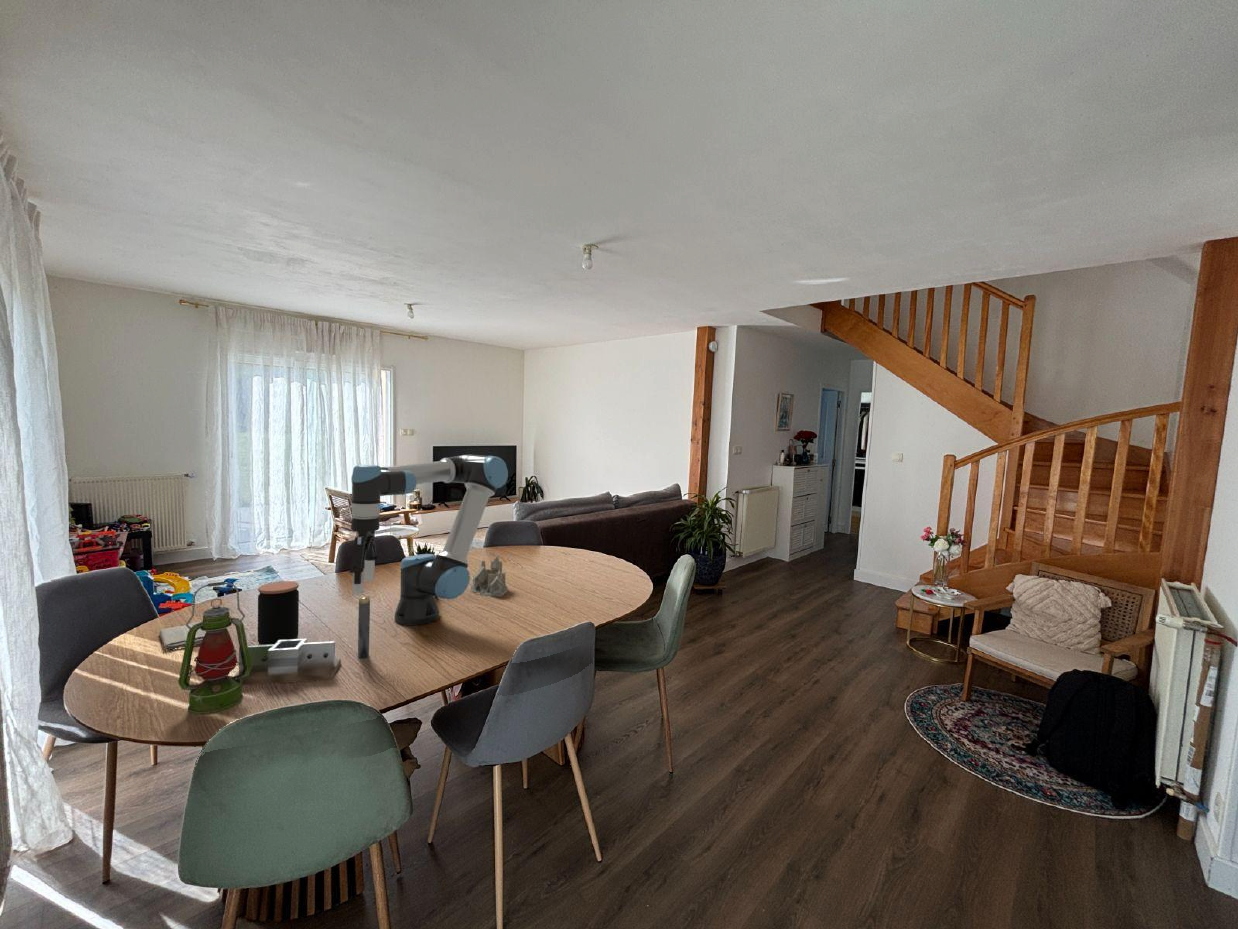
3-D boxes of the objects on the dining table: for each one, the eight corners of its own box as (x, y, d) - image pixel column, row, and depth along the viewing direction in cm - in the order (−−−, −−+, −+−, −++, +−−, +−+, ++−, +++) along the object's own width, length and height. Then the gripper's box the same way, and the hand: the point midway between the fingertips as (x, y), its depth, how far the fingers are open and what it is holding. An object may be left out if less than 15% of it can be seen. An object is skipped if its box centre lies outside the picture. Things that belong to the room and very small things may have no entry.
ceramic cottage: (472, 585, 225) (474, 553, 224) (509, 587, 227) (511, 555, 226) (465, 598, 210) (467, 564, 208) (505, 600, 212) (507, 566, 210)
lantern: (177, 723, 114) (176, 593, 112) (179, 702, 122) (179, 581, 120) (252, 704, 123) (253, 584, 121) (250, 686, 131) (250, 573, 129)
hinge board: (340, 664, 145) (340, 659, 145) (331, 679, 137) (331, 673, 137) (245, 670, 139) (245, 665, 139) (229, 686, 131) (229, 680, 131)
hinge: (337, 660, 144) (338, 637, 144) (330, 672, 137) (330, 647, 137) (245, 666, 138) (245, 641, 138) (233, 678, 132) (233, 652, 131)
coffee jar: (306, 638, 162) (306, 583, 161) (274, 651, 152) (274, 592, 151) (282, 633, 165) (282, 579, 164) (249, 645, 155) (249, 588, 154)
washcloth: (164, 654, 148) (164, 644, 148) (157, 636, 160) (157, 626, 160) (215, 643, 157) (215, 633, 156) (205, 627, 169) (205, 618, 168)
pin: (370, 654, 153) (371, 596, 152) (367, 658, 150) (368, 599, 149) (359, 654, 152) (360, 596, 151) (356, 658, 149) (357, 599, 148)
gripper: (362, 510, 160) (360, 576, 161) (339, 524, 136) (337, 601, 137) (387, 511, 162) (385, 576, 163) (369, 524, 138) (367, 600, 138)
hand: (363, 587), depth 150 cm, fingers open, 13 cm apart
